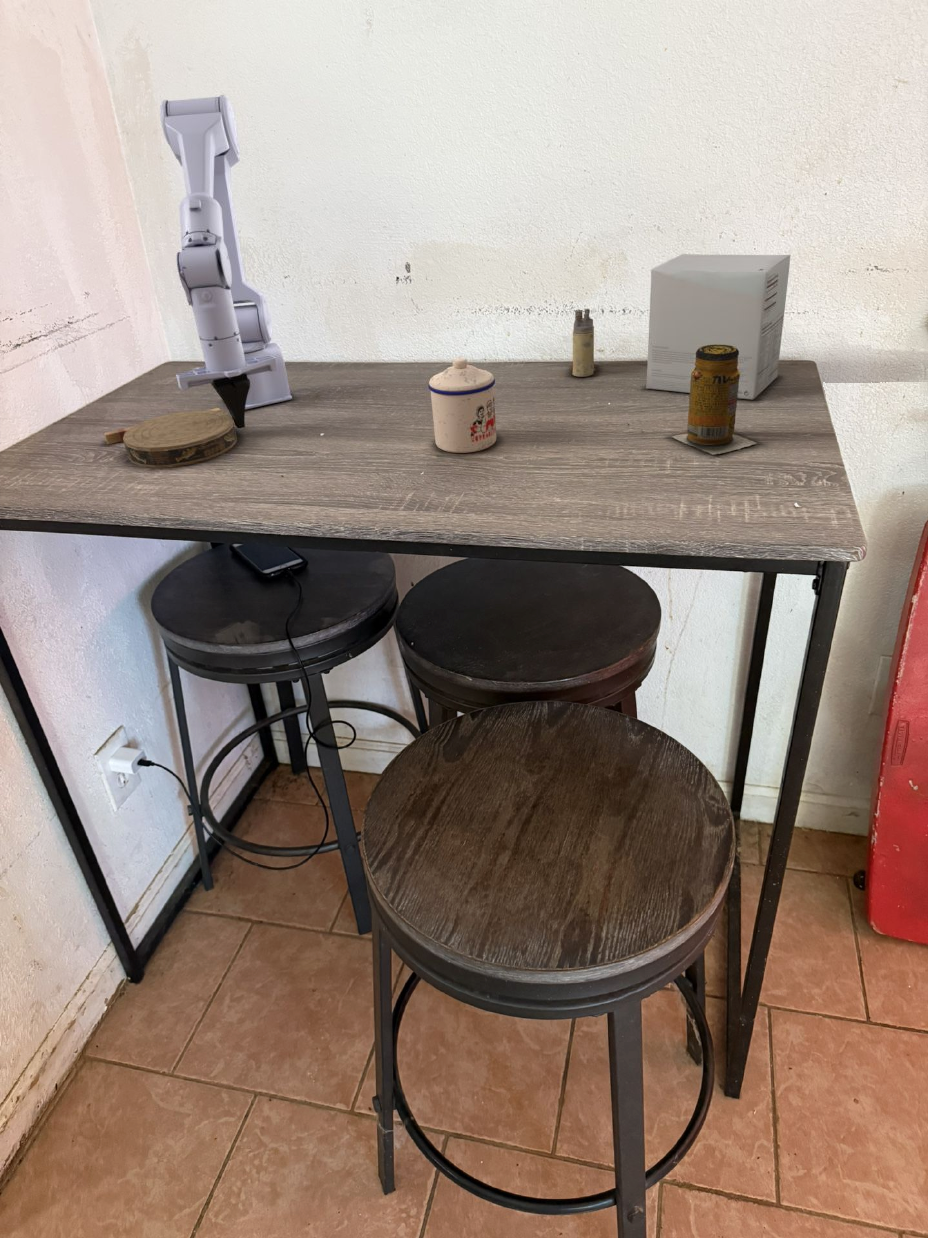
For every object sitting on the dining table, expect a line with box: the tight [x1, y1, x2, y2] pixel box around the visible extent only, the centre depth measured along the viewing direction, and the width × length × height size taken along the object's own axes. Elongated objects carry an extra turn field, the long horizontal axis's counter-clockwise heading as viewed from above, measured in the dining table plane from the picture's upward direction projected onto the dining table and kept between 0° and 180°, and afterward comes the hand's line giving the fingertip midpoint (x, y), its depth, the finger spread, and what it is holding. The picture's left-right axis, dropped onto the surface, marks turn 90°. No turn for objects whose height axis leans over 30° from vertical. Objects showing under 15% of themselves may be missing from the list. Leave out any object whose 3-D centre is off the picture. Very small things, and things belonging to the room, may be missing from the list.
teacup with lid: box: [427, 357, 497, 454], centre depth 117 cm, size 12×9×12 cm
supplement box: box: [645, 253, 791, 400], centre depth 128 cm, size 17×13×18 cm
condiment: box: [671, 344, 757, 456], centre depth 109 cm, size 7×8×12 cm
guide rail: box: [103, 407, 222, 445], centre depth 133 cm, size 18×1×2 cm, turn 118°
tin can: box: [122, 409, 238, 469], centre depth 125 cm, size 16×16×3 cm
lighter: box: [572, 307, 597, 378], centre depth 141 cm, size 7×4×10 cm, turn 171°
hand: (239, 426), depth 129 cm, fingers closed
